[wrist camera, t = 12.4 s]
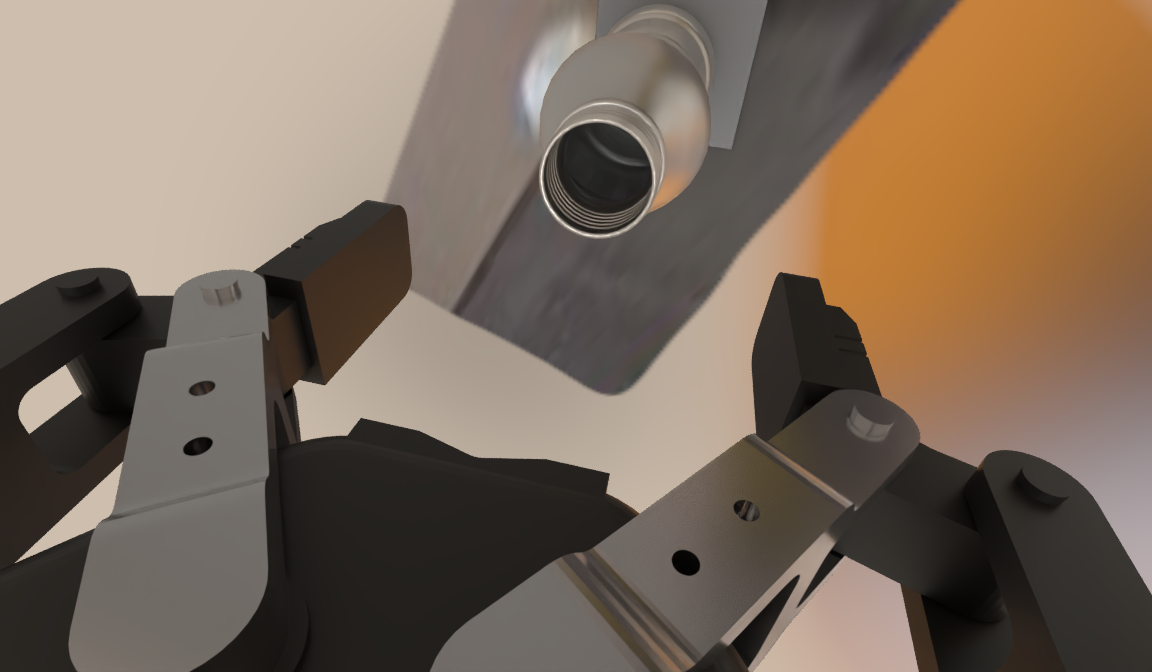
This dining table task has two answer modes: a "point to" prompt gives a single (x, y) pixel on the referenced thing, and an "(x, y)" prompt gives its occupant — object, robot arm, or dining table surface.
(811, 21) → the dining table surface
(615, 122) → the plastic bottle
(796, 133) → the dining table surface
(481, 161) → the dining table surface
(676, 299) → the dining table surface
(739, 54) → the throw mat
